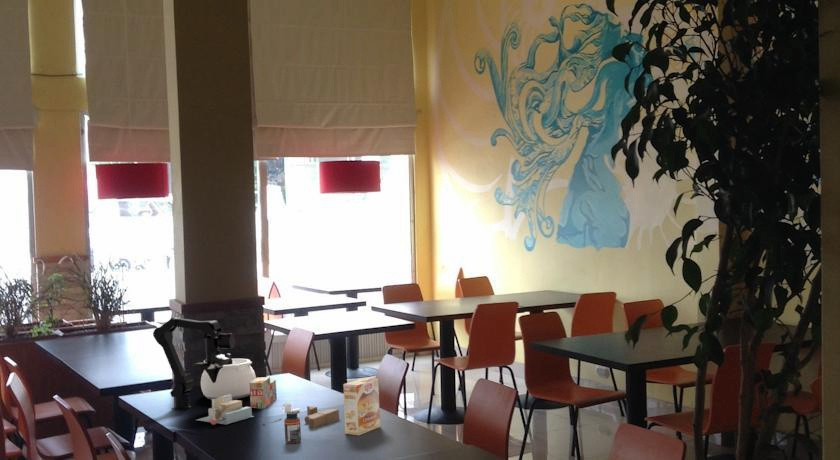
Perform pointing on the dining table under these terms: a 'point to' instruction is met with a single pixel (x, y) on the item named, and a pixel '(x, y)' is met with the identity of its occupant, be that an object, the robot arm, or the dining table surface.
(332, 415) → the wooden block set
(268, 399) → the stack of blocks
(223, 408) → the beech block
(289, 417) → the supplement bottle
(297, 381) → the dining table surface
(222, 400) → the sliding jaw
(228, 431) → the dining table surface
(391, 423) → the dining table surface
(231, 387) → the pot
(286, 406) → the teacup and saucer
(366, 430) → the coffeecake box
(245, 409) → the pale blue base plate
